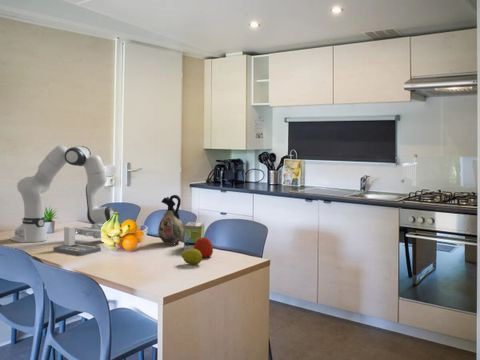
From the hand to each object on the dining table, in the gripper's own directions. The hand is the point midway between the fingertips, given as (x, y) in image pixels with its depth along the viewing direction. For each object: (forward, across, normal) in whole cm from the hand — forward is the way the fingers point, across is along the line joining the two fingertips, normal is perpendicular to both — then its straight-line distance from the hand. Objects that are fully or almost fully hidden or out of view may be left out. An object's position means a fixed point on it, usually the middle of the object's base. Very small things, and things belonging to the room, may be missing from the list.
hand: (79, 233), depth 258 cm
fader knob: (+7, 0, +6) cm, 9 cm away
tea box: (-32, +56, +8) cm, 65 cm away
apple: (-18, +71, +8) cm, 74 cm away
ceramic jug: (-38, +36, +8) cm, 53 cm away
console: (+7, +6, +8) cm, 12 cm away
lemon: (0, +76, +8) cm, 77 cm away
